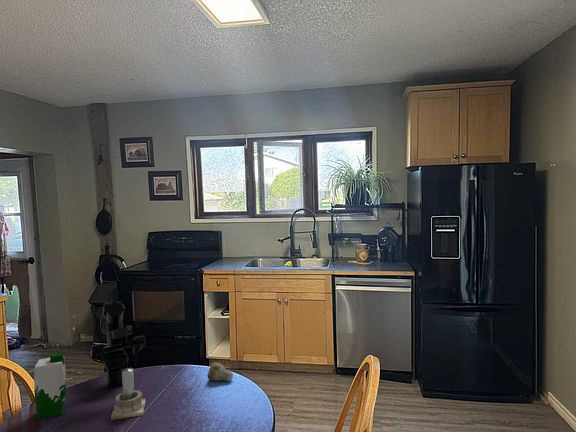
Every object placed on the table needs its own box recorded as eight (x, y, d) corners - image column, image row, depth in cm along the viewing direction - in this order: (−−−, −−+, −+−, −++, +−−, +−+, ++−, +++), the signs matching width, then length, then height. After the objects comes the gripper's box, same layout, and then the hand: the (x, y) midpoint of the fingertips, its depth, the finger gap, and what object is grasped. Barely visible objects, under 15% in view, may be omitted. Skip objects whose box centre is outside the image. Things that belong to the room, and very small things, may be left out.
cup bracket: (115, 405, 136) (115, 391, 136) (145, 401, 139) (145, 387, 139) (110, 420, 126) (110, 405, 126) (143, 415, 129) (142, 400, 129)
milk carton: (64, 415, 130) (62, 357, 130) (33, 421, 126) (31, 362, 126) (67, 403, 138) (66, 348, 138) (38, 409, 135) (36, 353, 134)
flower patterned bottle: (231, 385, 150) (218, 365, 149) (213, 392, 154) (200, 372, 153) (238, 373, 157) (226, 353, 156) (221, 380, 161) (208, 361, 160)
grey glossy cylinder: (127, 404, 135) (126, 367, 134) (136, 404, 134) (135, 368, 134) (121, 409, 131) (119, 372, 131) (130, 410, 131) (129, 372, 130)
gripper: (90, 323, 138) (96, 363, 129) (143, 314, 149) (152, 350, 140) (88, 339, 144) (93, 378, 135) (139, 330, 155) (147, 365, 146)
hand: (122, 367), depth 139 cm, fingers open, 9 cm apart
